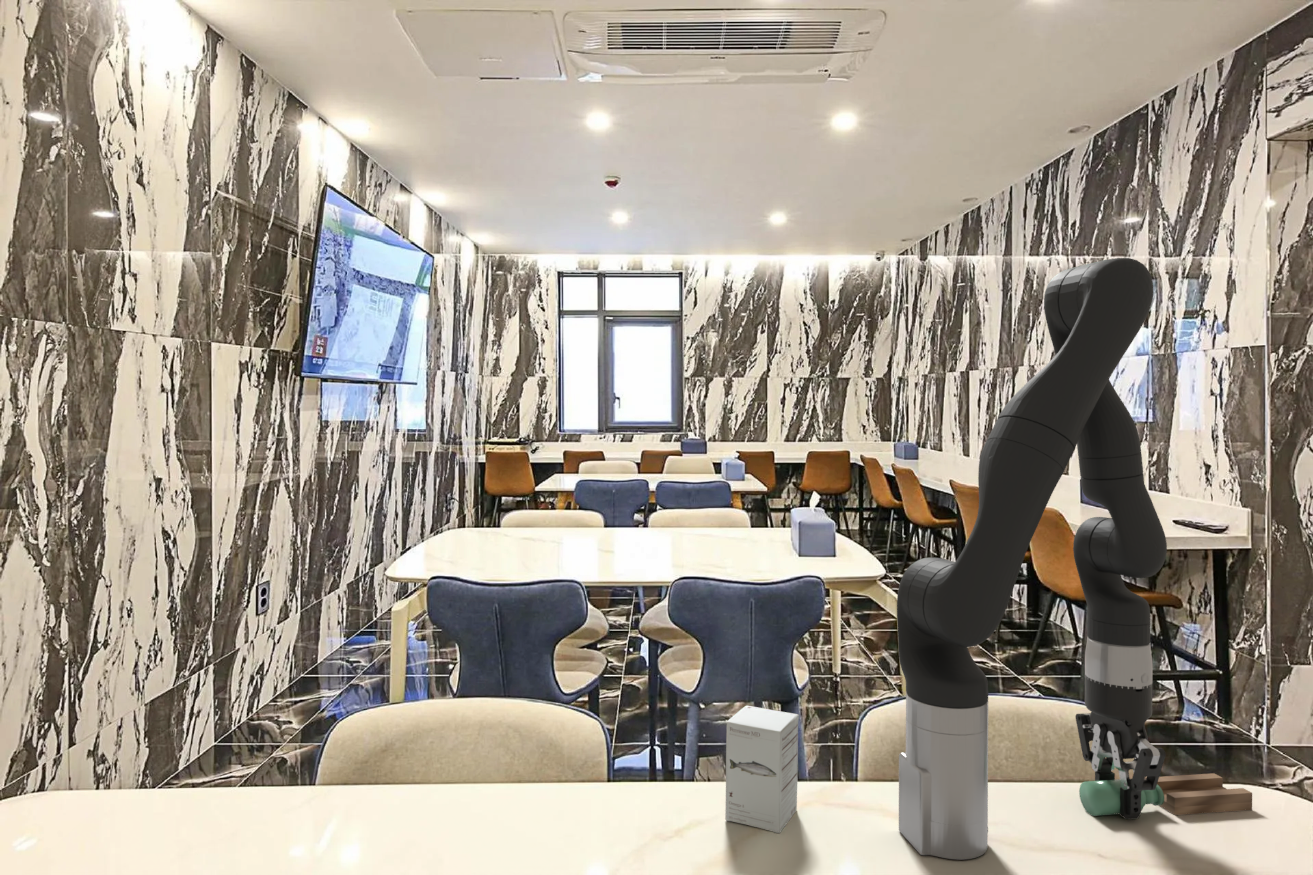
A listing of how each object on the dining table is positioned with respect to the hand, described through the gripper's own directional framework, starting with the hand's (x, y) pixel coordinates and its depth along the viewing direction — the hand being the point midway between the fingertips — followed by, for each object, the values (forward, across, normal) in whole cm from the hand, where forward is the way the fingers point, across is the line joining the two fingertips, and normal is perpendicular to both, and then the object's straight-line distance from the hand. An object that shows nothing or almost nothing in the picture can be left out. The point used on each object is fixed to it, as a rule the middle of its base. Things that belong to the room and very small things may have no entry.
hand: (1117, 808), depth 104 cm
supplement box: (+1, -5, -45) cm, 46 cm away
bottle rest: (0, -1, +12) cm, 12 cm away
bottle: (-1, 0, +1) cm, 2 cm away
